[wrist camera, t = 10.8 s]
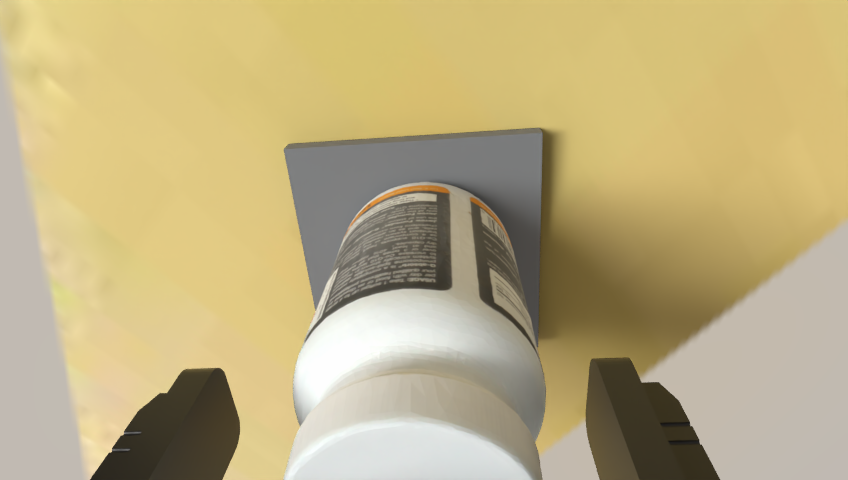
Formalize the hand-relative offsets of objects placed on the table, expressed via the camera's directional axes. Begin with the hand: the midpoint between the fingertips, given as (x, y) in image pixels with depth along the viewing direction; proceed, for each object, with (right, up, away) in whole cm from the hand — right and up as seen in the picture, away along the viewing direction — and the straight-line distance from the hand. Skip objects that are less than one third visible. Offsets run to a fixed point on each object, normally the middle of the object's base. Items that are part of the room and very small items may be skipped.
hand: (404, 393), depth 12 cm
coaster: (0, +3, +7) cm, 8 cm away
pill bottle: (+1, +3, +7) cm, 7 cm away
